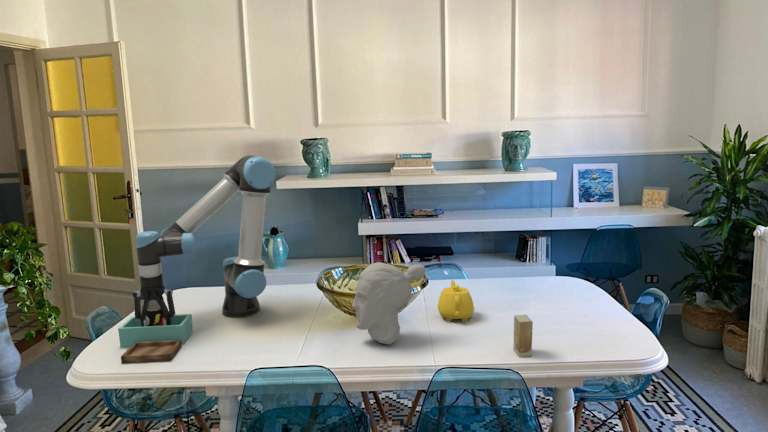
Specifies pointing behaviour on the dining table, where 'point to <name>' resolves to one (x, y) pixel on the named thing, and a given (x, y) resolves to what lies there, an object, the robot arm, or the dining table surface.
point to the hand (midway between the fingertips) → (157, 335)
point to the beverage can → (154, 316)
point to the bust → (383, 299)
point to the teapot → (455, 303)
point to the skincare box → (523, 335)
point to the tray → (151, 351)
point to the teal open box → (156, 331)
